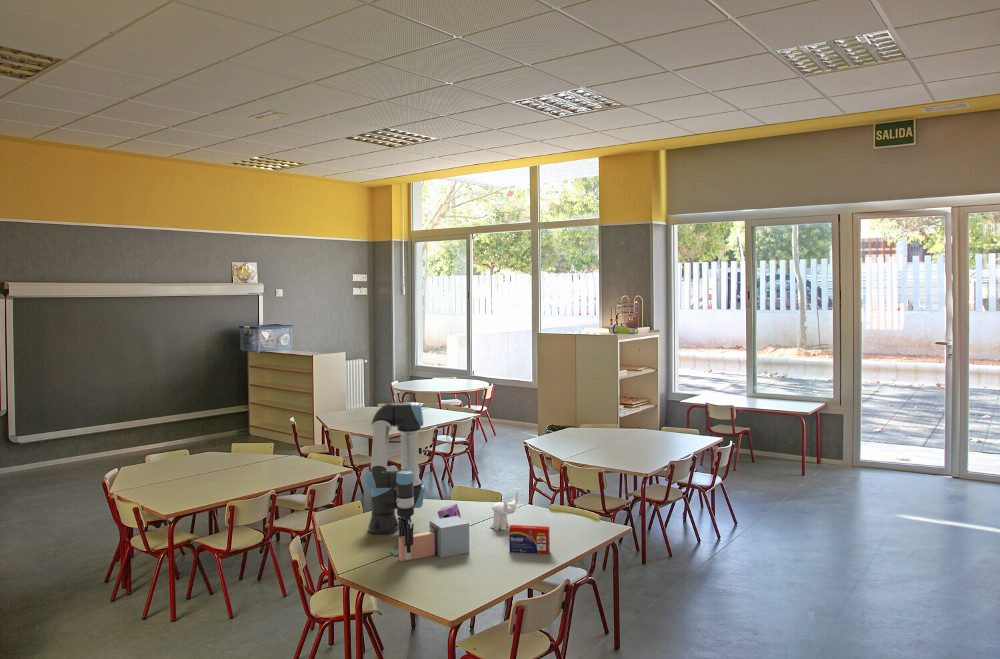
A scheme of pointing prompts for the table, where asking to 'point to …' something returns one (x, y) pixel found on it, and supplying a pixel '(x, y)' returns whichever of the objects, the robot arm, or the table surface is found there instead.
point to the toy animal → (503, 513)
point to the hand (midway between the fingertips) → (406, 557)
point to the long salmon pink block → (418, 546)
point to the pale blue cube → (450, 536)
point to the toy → (449, 511)
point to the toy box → (529, 539)
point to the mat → (395, 552)
